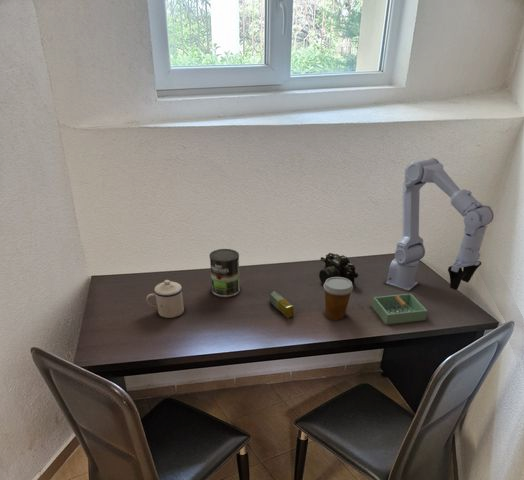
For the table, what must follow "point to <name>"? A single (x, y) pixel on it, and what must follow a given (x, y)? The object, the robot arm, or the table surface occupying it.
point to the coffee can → (225, 272)
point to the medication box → (281, 304)
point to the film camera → (337, 268)
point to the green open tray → (391, 318)
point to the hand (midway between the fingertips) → (459, 284)
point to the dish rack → (402, 305)
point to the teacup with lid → (168, 299)
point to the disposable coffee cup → (337, 296)
